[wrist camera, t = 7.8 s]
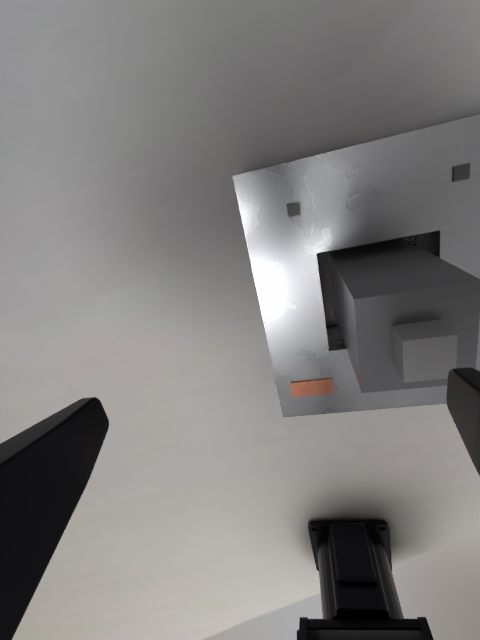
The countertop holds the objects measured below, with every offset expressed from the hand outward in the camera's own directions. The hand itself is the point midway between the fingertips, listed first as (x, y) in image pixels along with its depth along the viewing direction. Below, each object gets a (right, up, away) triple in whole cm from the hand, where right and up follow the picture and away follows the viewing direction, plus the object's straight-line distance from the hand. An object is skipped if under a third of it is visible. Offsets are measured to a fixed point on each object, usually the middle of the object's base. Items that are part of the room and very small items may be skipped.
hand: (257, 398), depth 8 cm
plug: (+7, +4, +10) cm, 13 cm away
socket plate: (+7, +4, +10) cm, 13 cm away
